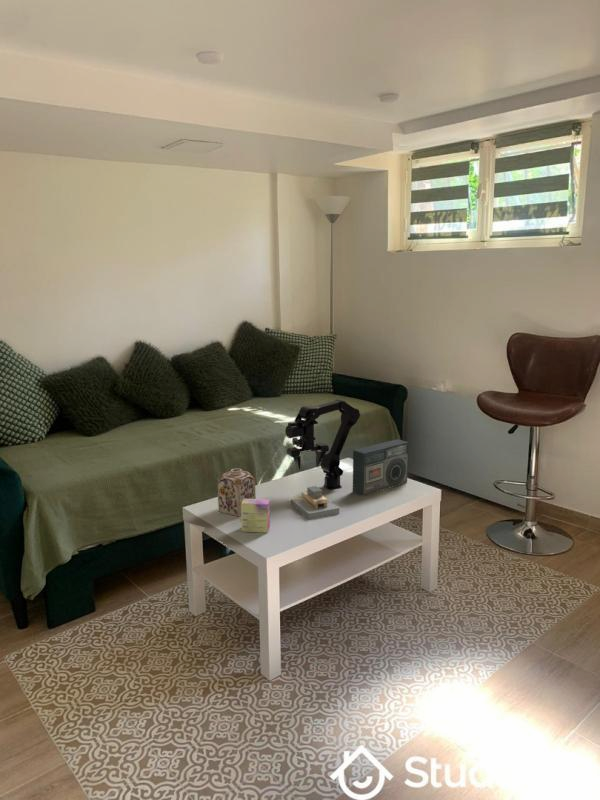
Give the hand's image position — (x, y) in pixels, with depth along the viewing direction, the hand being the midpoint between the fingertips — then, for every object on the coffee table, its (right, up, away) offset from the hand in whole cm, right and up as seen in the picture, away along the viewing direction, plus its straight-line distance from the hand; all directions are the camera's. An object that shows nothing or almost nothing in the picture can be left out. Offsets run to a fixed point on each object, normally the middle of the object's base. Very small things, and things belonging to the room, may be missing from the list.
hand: (308, 467), depth 274 cm
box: (-21, -20, -37) cm, 47 cm away
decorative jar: (-30, -16, -17) cm, 38 cm away
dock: (+2, -16, -17) cm, 23 cm away
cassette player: (+34, -10, +10) cm, 37 cm away
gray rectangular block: (+3, -10, -18) cm, 20 cm away
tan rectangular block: (+2, -13, -17) cm, 22 cm away
